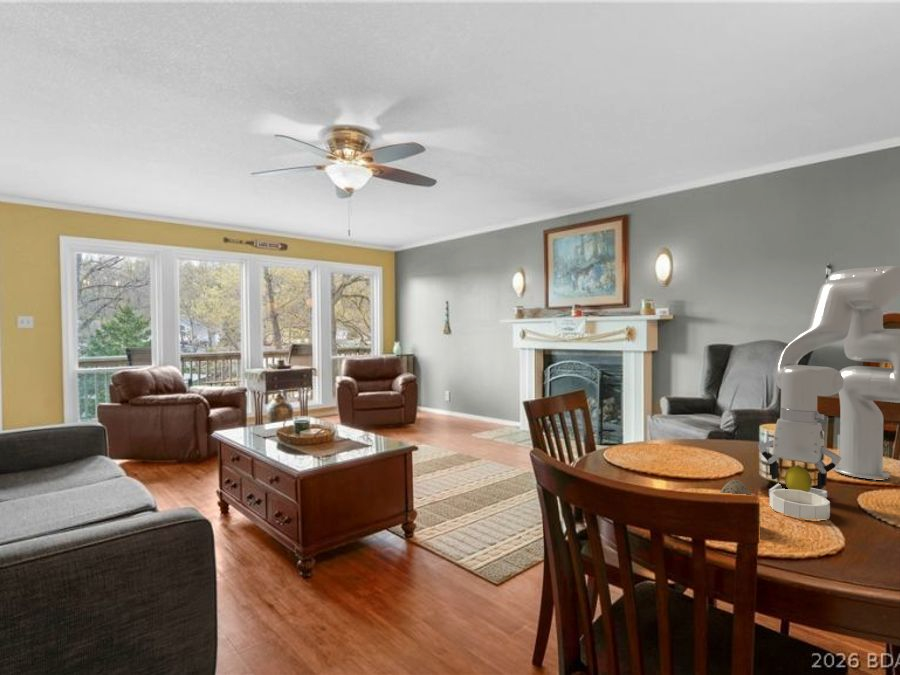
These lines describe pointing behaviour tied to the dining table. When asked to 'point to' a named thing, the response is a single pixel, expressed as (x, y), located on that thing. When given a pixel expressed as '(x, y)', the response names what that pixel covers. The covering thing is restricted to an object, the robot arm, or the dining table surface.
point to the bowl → (800, 504)
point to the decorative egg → (735, 488)
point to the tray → (812, 490)
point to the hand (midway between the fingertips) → (797, 483)
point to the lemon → (798, 479)
